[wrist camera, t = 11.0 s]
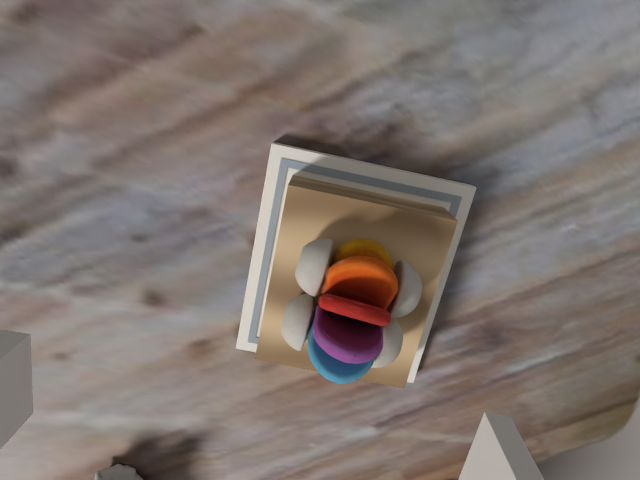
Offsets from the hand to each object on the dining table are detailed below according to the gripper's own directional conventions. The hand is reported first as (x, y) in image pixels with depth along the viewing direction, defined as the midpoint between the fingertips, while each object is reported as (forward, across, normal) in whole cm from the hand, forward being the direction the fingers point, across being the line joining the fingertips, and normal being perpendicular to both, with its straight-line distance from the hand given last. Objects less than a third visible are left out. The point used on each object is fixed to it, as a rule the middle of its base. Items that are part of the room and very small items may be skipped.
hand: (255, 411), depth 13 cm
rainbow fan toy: (+19, +4, -5) cm, 20 cm away
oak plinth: (+23, +5, -5) cm, 24 cm away
